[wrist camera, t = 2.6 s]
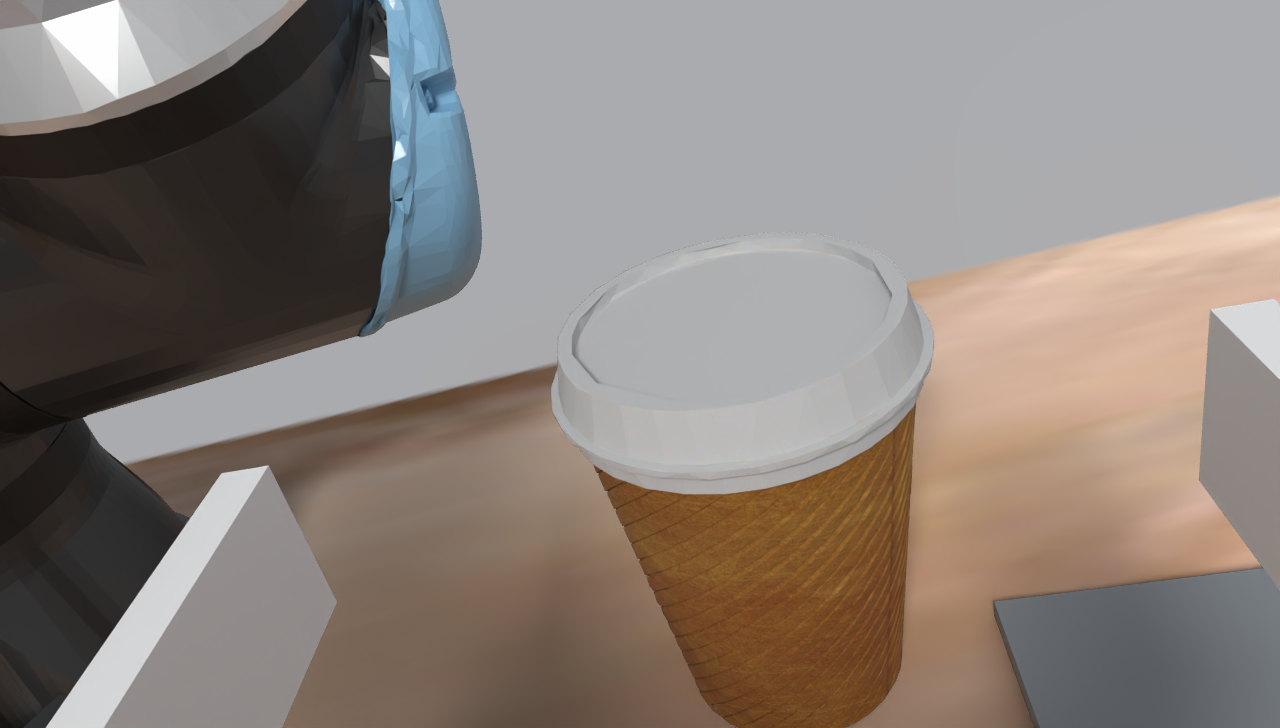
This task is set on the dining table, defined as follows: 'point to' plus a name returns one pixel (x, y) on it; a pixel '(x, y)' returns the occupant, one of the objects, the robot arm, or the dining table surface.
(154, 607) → the robot arm
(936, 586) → the dining table surface
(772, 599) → the disposable coffee cup
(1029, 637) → the mat
